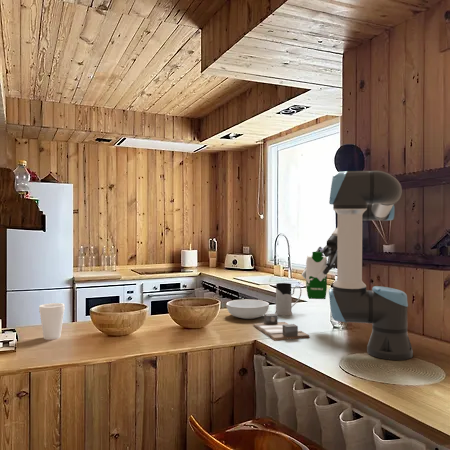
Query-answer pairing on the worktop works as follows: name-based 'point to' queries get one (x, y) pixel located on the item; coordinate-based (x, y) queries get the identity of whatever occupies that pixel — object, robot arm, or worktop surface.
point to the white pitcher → (284, 298)
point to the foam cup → (52, 319)
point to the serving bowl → (247, 308)
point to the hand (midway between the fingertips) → (310, 277)
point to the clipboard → (279, 329)
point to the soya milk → (315, 276)
